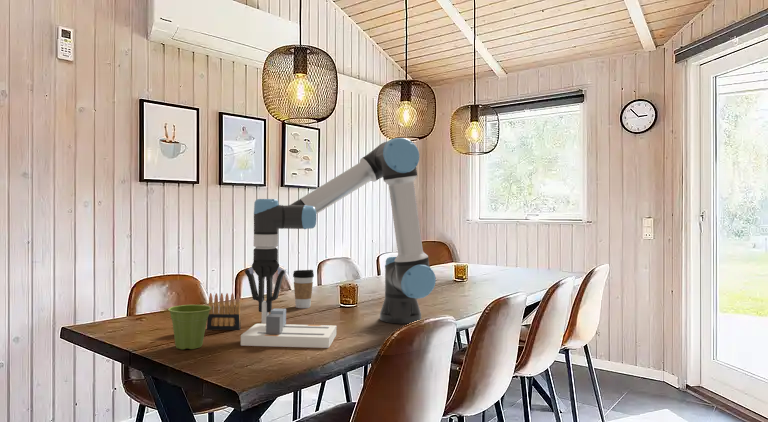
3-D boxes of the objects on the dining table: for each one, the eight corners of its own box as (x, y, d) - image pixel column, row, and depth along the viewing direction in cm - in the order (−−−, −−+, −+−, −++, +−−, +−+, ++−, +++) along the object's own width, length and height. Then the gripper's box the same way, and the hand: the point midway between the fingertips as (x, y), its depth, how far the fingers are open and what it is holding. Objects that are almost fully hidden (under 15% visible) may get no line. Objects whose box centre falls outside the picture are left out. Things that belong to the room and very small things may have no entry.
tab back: (285, 324, 174) (286, 308, 174) (282, 327, 170) (283, 311, 170) (273, 324, 174) (273, 308, 174) (270, 326, 170) (270, 310, 170)
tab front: (282, 330, 165) (282, 314, 165) (279, 334, 161) (279, 317, 161) (269, 330, 165) (269, 314, 165) (266, 333, 161) (266, 316, 161)
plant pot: (198, 353, 151) (199, 312, 151) (159, 351, 153) (159, 310, 153) (218, 343, 162) (218, 305, 162) (181, 340, 164) (181, 303, 164)
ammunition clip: (240, 328, 182) (241, 292, 181) (239, 329, 180) (240, 293, 180) (208, 328, 181) (208, 292, 181) (206, 329, 179) (207, 293, 179)
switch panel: (336, 334, 174) (336, 325, 174) (328, 347, 158) (328, 337, 158) (256, 332, 176) (256, 323, 176) (240, 345, 160) (240, 334, 160)
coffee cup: (309, 309, 216) (309, 271, 216) (289, 308, 218) (289, 270, 218) (316, 305, 225) (316, 269, 224) (296, 304, 226) (297, 268, 226)
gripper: (288, 247, 175) (288, 320, 175) (249, 246, 176) (248, 319, 176) (283, 248, 168) (282, 325, 168) (241, 248, 168) (241, 324, 169)
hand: (265, 322), depth 172 cm, fingers closed
